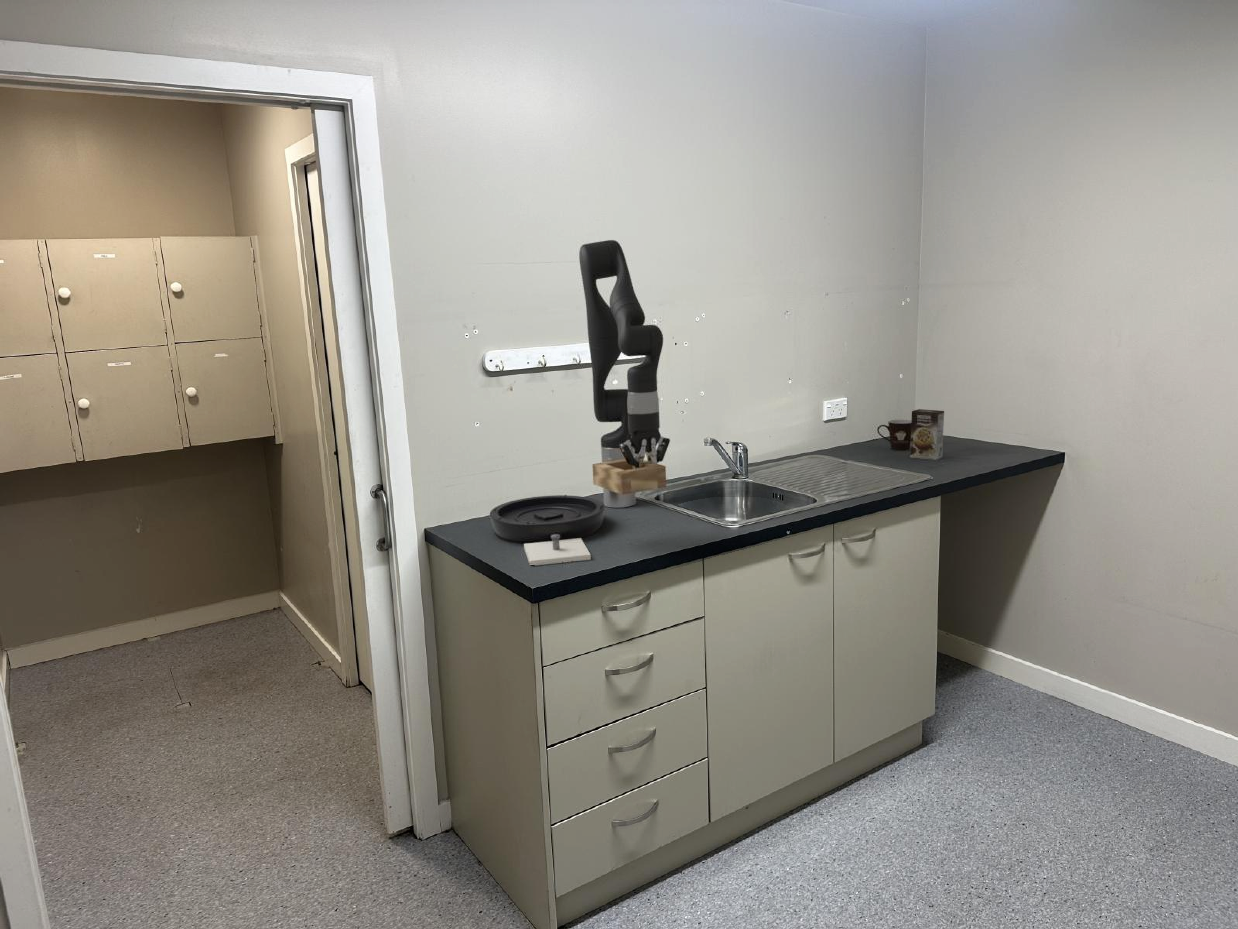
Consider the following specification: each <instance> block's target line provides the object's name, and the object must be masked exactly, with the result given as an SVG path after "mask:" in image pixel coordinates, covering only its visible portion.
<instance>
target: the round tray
mask: <svg viewBox="0 0 1238 929" xmlns="http://www.w3.org/2000/svg"><path fill="white" fill-rule="evenodd" d="M605 507H606V506H605V505H604V502H602V501H600V500H598V499H596V498H591V497H587V496H581V495H567V494H564V495H563V494H562V495H560V494H558V495H556V494H555V495H541V496H539V495H538V496H532V497H525V498H519V499H515V500H510V501H508V502H507V501H506V502H504V503H502V504H499V505H498V506H495V507H494V508H493V509H491V510H490V512H489V518H490V522H491V526H492V529H493V530H494V532H495V533H496V534H497V536H498V537H500V538H501V539H502V540H503V539H504V540H505V539H506V541H509V542H513V541H514V543H519V542H520V543H519V544H521V543H522V544H528V543H538V542H547V541H552V539H551V535H554V534H558V535H560V538H559V540H567V539H577V538H581V537H582V538H584V537H587V535H588V536H590V535H592V534H594V533H595V532H597V531H598V530H599V529H600V527H601V526H602V524H603V521H604V519H605V518H604V517H605V511H606V510H605ZM582 538H581V539H582Z"/></svg>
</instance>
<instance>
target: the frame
mask: <svg viewBox="0 0 1238 929" xmlns="http://www.w3.org/2000/svg"><path fill="white" fill-rule="evenodd" d="M591 466H592V480H593V481H592V482H593V485H595V486H597V487H600V488H602V489H603V488H605V489H608V490H611V491H613V492H616V493H619V494H622V495H624V494H630V493H635V494H636V493H640V492H641V493H642V492H645V491H650V490H651V491H652V490H656V489H663V488H667V466H666V465H663V464H660V463H657V464H656V463H653V462H649V461H647V459H644V461H643V467H642V468H636V469H635V466H633V465H629V464H628V463H627V461H626V459H622V460H616V461H609V462H603V463H602V462H599V463H593V464H592V465H591Z"/></svg>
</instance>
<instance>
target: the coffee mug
mask: <svg viewBox="0 0 1238 929" xmlns="http://www.w3.org/2000/svg"><path fill="white" fill-rule="evenodd" d="M911 422H912V419H911V420H909V419H891V420H888V422H887V423H888V425H886V424H880V425H879V426H878V427H877V428H876V429H877V433H878V435H879V436H880V437H881V438H883V439H884V440H886V441H888V442H889V443H890V450H892V451H899V452H901V451H902V452H903V451H909V450H911ZM883 427H885V428H886V429H887V430H888V432H889V438H887V437H886V436H884V435H883V434H881V432H880V428H883Z"/></svg>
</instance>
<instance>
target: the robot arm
mask: <svg viewBox="0 0 1238 929" xmlns="http://www.w3.org/2000/svg"><path fill="white" fill-rule="evenodd" d="M578 256H579V258H578V259H579V266H580V268H579V269H580V273H581V279H582V280H581V281H582V287H583V290H584V291H583V294H584V298H585V299H584V300H585V308H586V320H587V321H586V324H587V325H586V326H587V338H588V346H589V354H590V361H591V363H590V364H591V372H592V392H593V394H592V395H593V399H592V400H593V411H594V417H595V419H596V421H597V422H598V423H599V422H600V423H621V424H620V426H619V427H618V428H616V429H615V430H613V431H610V432H608V433H605V434H603V435H602V436H601V438H600V449H601V450H600V451H601V452H600V453H601V463H603V462H609V461H616V460H622V459H626V461H627V463H628V464H629V465H633V466H635V469H636V468H642V467H643V461H644V460H645V457H646V461H649V462H653V463H656V464H659V463H661V462H663V461H664V459H665V456H666V453H667V450H668V447H669V445H670V442H671V439H670V438H668V437H664V436H662V434H661V433H660V428H661V426H660V423H661V422H660V400H659V399H660V398H659V395H658V375H657V374H658V368H659V362H660V358H661V354H662V350H663V346H664V335H663V332H662V329H661V328H660V327H658V325H655V324H645V322H646V316H645V313H644V310H643V307H642V305H641V303H640V302H639V300H638V298H637V297H638V296H637V295H636V292H635V290H634V286H633V282H632V279H631V273H630V271H629V267H628V263H627V259H626V257H625V253H624V250H623V248H622V246H621V245H620V243H619V242H618V241H617V240H614V239H607V240H602V241H601V240H600V241H595V242H589V243H584V244H582V245H580V247H579V254H578ZM613 277H616V281H615V284H614V286H613V288H612V290H611V293H610V297H609V304H608V303H607V301H605V299H604V298H603V296H602V294H601V293H600V291H599V289H598V285H597V280H602V279H608V278H613ZM621 354H623V355H624V356H626V357H640V356H641V357H642V356H644V360H643V361H642V362H641V363H640V364H637V365H633V366H631V367H629V368H628V369H627V372H626V373H627V374H626V381H627V388H615V389H613V388H612V389H606V388H605V384H606V383H607V382H606V381H607V379H608V376H609V375H610V373H611V370H613V367H614V366H615V364H616V363H617V361H618V359H619V357H620V356H621ZM602 490H603V504H604V506H605V507H607V508H615V509H617V508H629V507H631V506H634V505H636V503H637V501H636V499H637V497H636V492H635V493H630V494H624V495H622V494H619V493H616V492H613V491H611V490H608V489H605V488H602Z"/></svg>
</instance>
